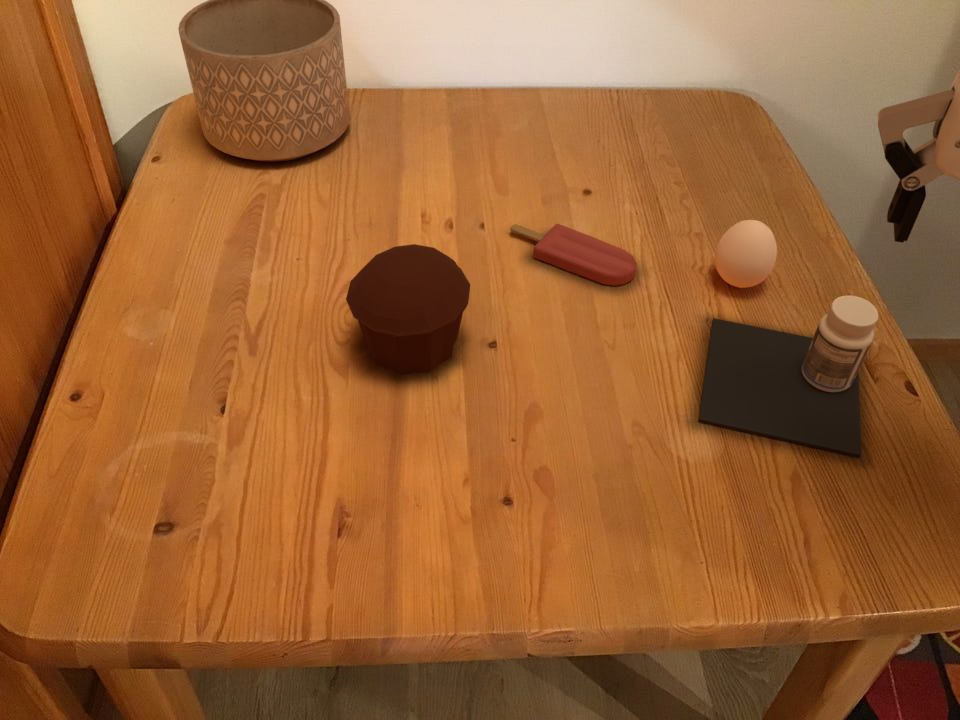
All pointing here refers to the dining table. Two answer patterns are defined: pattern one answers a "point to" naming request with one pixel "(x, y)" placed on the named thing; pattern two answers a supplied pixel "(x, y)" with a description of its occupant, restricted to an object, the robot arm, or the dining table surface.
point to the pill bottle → (840, 344)
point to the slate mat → (774, 391)
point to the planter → (267, 76)
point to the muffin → (409, 307)
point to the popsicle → (581, 254)
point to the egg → (746, 254)
